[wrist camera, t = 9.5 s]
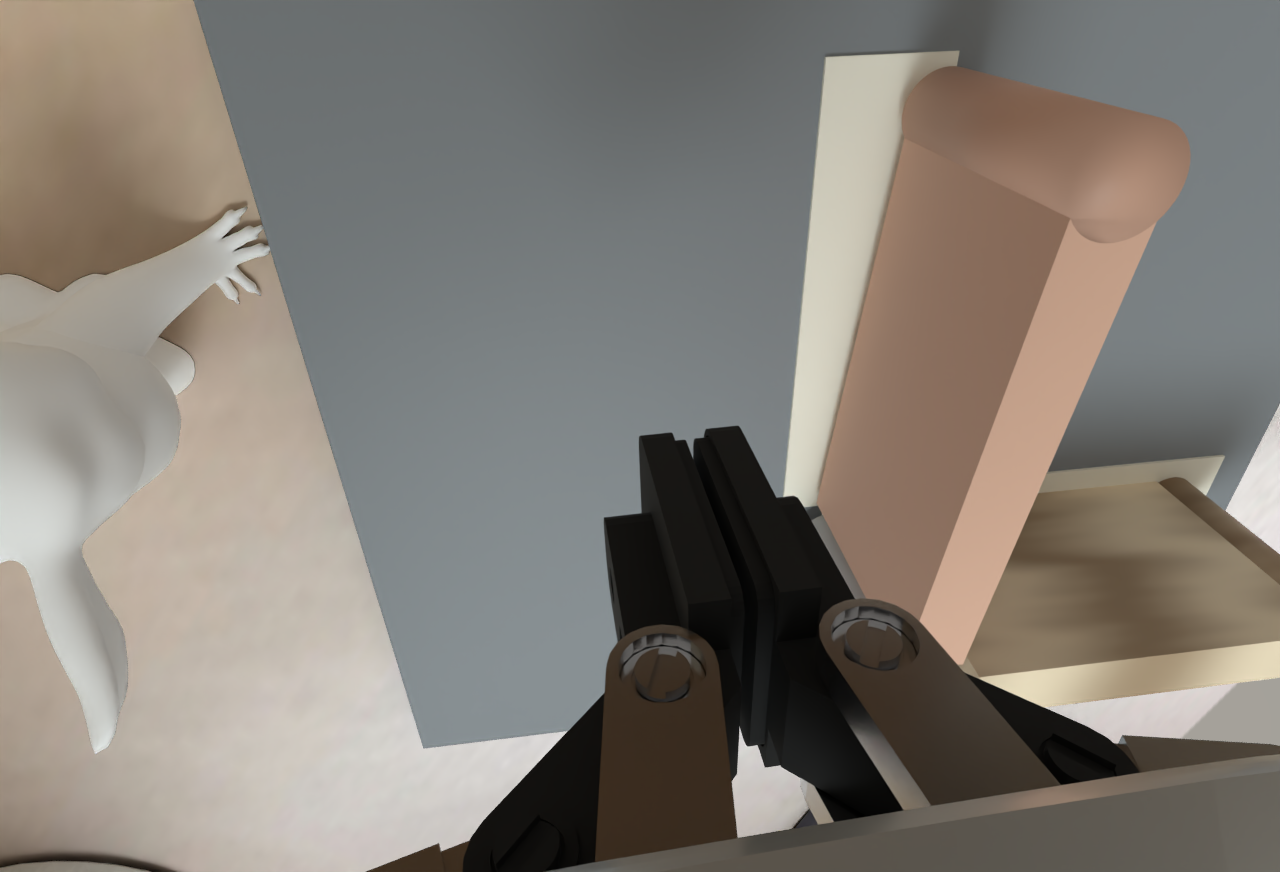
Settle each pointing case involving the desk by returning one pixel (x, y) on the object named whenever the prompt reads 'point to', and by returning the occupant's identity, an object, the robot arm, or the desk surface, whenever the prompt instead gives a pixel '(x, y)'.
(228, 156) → the desk surface
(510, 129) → the mat
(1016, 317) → the fence swing panel
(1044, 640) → the panel
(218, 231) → the rabbit figurine
